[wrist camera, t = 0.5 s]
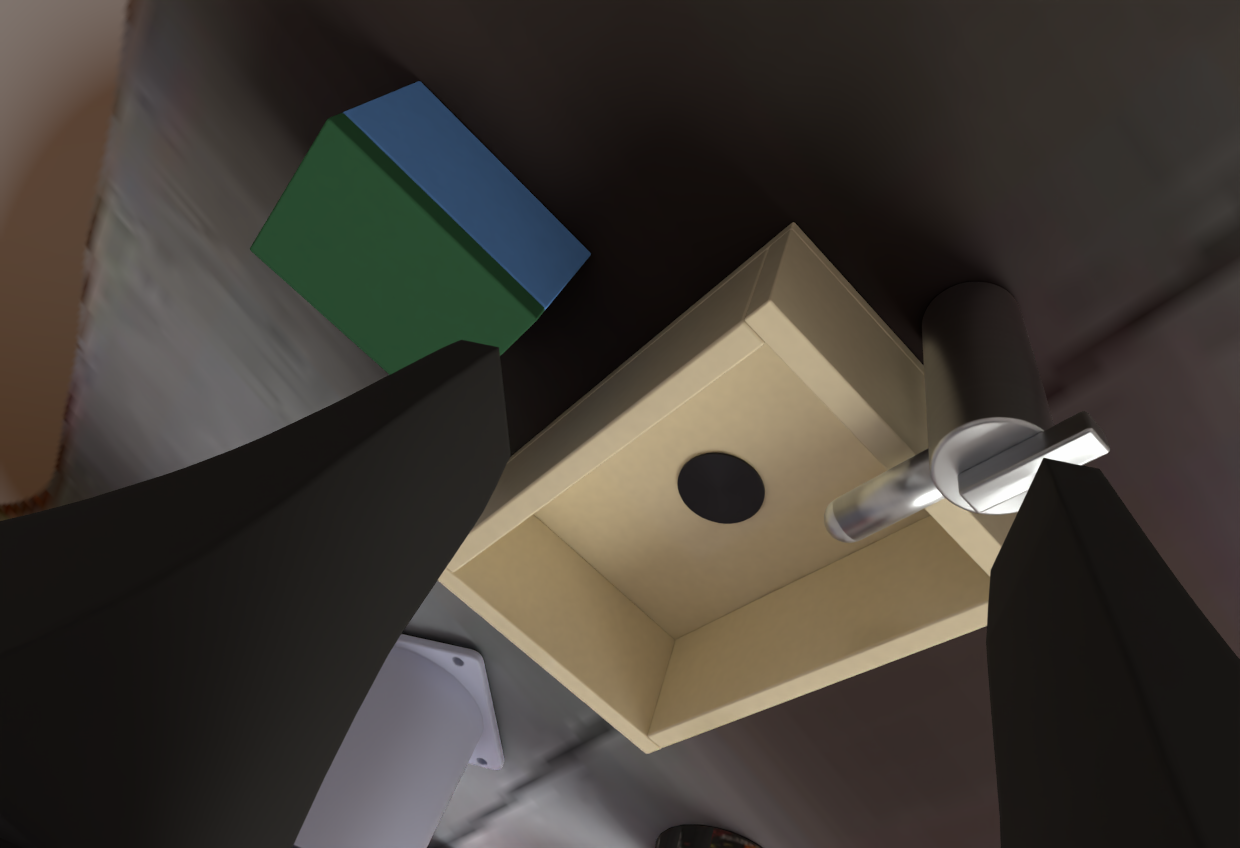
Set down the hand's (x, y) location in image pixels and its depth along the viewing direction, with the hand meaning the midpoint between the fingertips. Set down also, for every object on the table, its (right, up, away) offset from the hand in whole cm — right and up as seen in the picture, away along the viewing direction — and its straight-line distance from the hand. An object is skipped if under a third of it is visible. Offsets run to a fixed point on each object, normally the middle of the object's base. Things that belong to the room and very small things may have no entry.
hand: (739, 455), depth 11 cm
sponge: (-6, +6, +11) cm, 13 cm away
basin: (+1, -1, +13) cm, 13 cm away
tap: (+4, +1, +10) cm, 11 cm away
